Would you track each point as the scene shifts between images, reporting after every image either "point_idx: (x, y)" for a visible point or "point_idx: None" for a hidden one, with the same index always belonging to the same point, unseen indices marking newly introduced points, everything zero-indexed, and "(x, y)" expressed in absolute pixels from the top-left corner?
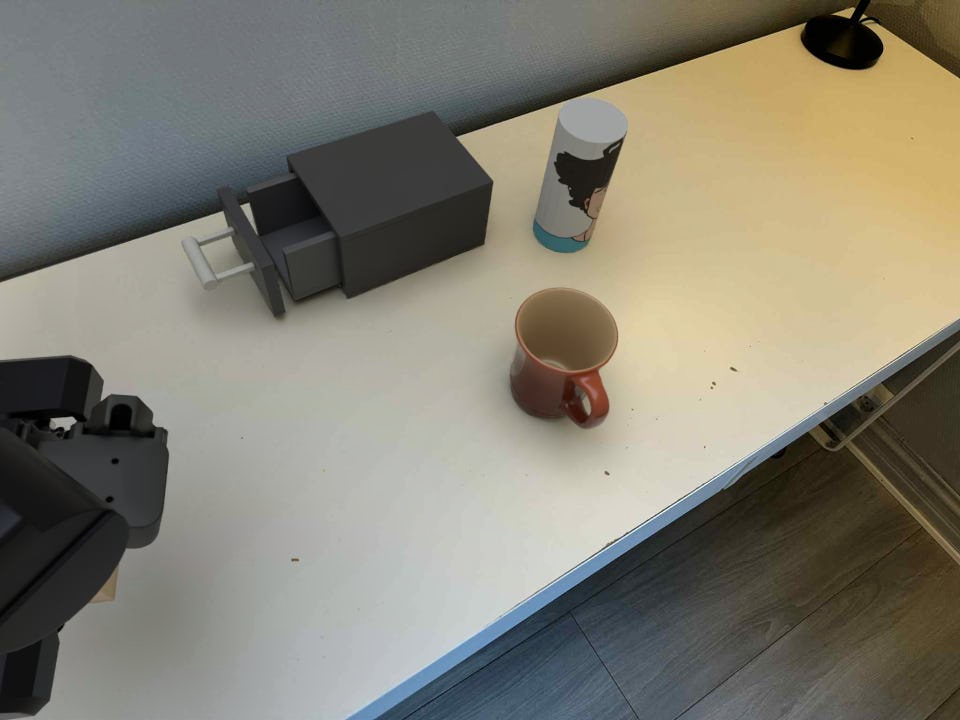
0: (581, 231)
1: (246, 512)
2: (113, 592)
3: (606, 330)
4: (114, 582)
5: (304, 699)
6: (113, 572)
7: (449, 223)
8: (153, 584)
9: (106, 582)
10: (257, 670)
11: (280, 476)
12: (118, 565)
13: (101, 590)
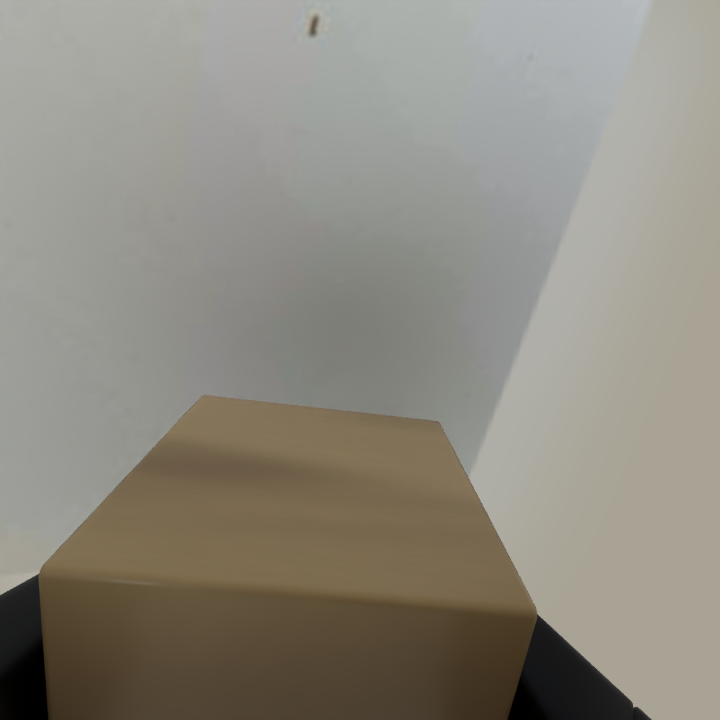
0: None
1: (176, 133)
2: (422, 426)
3: None
4: (388, 423)
5: (609, 57)
6: (359, 428)
7: None
8: (299, 337)
9: (418, 458)
10: (521, 150)
11: (89, 30)
12: (325, 410)
13: (468, 482)
